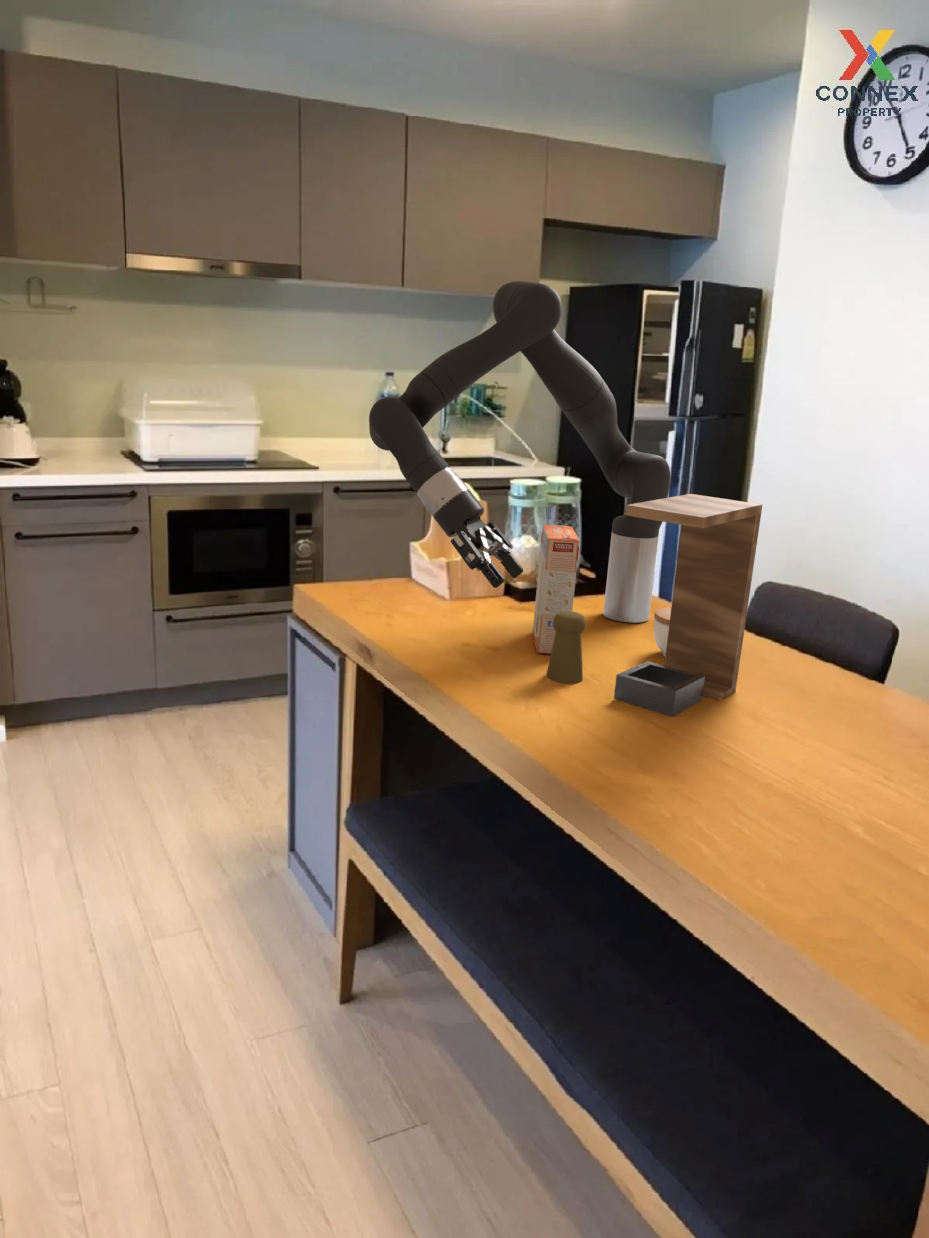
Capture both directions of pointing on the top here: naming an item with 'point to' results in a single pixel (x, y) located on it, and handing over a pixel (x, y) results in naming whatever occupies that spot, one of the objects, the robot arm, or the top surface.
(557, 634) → the cork
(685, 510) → the shelf
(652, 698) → the socket
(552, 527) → the cracker box
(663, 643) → the lidded jar
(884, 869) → the top surface
